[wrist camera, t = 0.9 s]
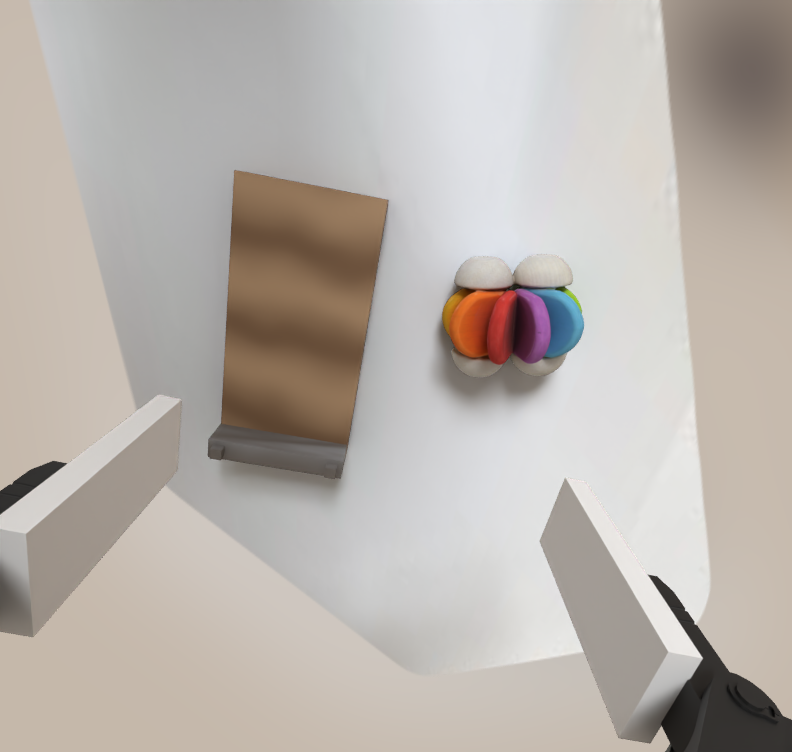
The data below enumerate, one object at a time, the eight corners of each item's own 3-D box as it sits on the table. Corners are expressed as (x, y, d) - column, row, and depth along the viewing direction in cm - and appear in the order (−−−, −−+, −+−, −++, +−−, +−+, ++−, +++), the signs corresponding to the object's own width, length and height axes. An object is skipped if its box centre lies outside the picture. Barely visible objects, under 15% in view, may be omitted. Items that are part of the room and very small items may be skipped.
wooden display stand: (244, 171, 32) (215, 166, 27) (388, 200, 32) (385, 200, 27) (229, 428, 39) (204, 461, 34) (347, 448, 39) (339, 483, 34)
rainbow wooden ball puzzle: (440, 254, 34) (450, 269, 27) (576, 251, 33) (619, 264, 27) (440, 365, 37) (448, 403, 30) (563, 362, 36) (600, 400, 30)
